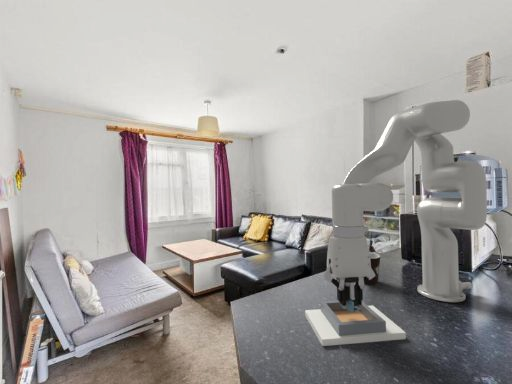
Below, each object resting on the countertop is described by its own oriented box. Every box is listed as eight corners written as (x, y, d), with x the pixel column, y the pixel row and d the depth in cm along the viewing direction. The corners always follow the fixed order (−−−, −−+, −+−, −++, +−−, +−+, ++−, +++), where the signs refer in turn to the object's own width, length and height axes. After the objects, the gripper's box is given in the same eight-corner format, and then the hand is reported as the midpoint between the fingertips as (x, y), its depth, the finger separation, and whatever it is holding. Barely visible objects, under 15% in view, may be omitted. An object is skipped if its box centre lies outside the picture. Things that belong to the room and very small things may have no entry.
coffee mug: (369, 276, 100) (368, 251, 100) (386, 284, 92) (385, 256, 92) (344, 280, 96) (343, 254, 96) (360, 288, 88) (359, 260, 88)
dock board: (372, 310, 72) (372, 296, 72) (405, 338, 58) (405, 321, 58) (305, 315, 71) (304, 301, 71) (322, 346, 57) (321, 328, 57)
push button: (368, 313, 62) (367, 273, 62) (351, 317, 60) (350, 276, 60) (349, 302, 68) (348, 265, 68) (333, 306, 67) (332, 268, 67)
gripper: (370, 228, 69) (372, 295, 69) (312, 231, 67) (314, 299, 67) (387, 233, 61) (389, 307, 61) (321, 236, 60) (323, 312, 60)
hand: (349, 302), depth 64 cm, fingers closed on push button, 3 cm apart
